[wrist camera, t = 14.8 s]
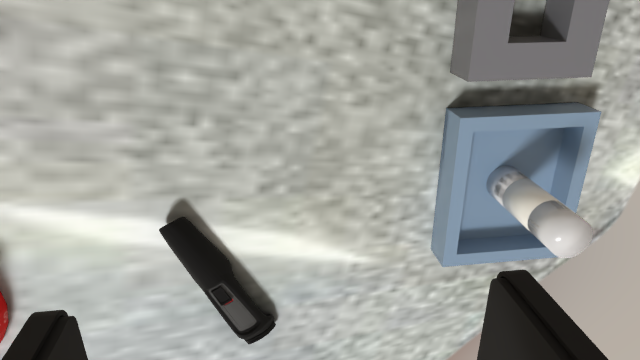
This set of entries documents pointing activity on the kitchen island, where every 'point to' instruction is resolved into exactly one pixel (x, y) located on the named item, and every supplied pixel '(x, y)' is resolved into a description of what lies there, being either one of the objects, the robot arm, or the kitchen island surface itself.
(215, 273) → the electric trimmer
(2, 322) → the knit hat
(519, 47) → the gray square hole block
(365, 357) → the kitchen island surface
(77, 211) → the kitchen island surface
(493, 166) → the parts tray
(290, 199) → the kitchen island surface
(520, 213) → the white rounded cylinder piece
